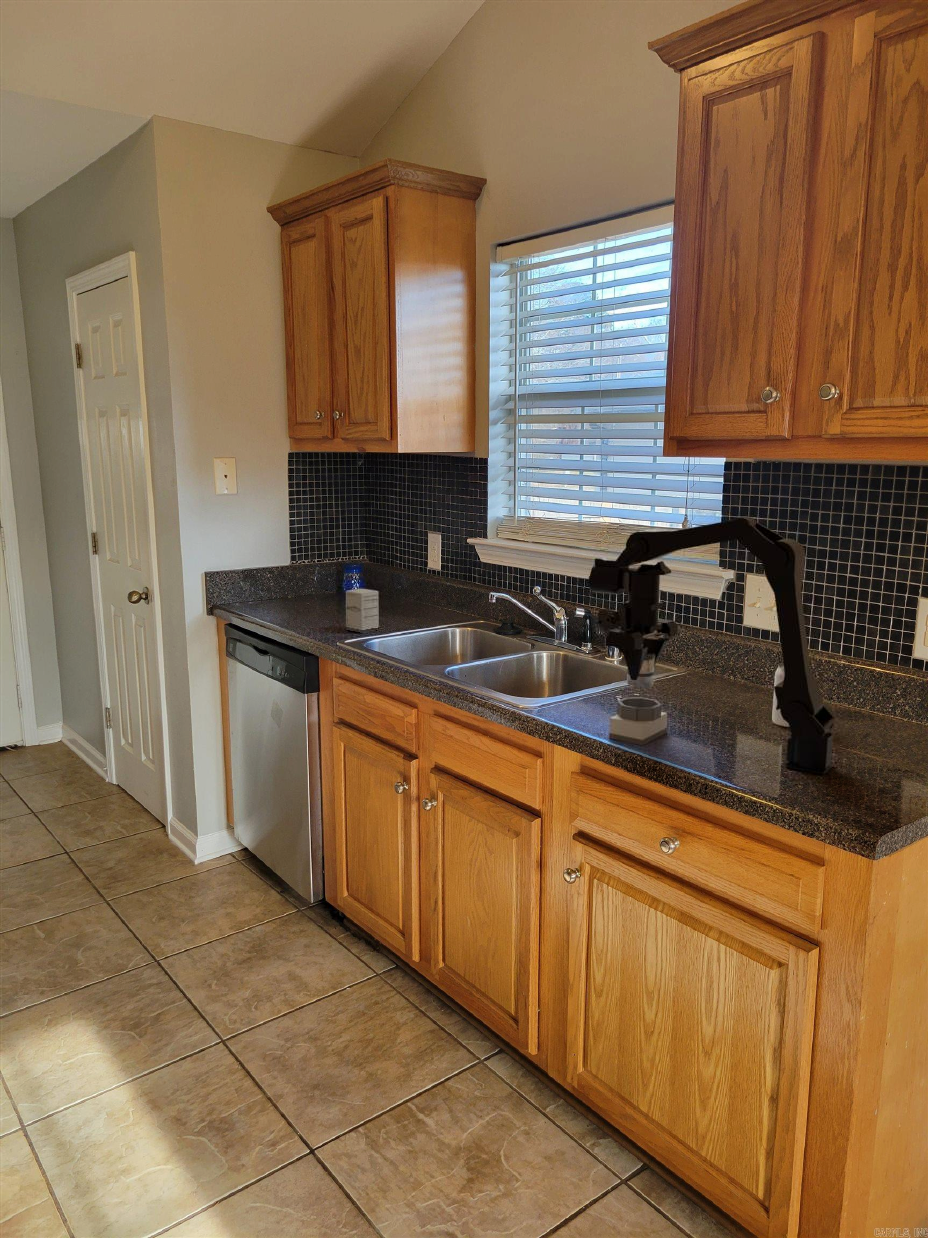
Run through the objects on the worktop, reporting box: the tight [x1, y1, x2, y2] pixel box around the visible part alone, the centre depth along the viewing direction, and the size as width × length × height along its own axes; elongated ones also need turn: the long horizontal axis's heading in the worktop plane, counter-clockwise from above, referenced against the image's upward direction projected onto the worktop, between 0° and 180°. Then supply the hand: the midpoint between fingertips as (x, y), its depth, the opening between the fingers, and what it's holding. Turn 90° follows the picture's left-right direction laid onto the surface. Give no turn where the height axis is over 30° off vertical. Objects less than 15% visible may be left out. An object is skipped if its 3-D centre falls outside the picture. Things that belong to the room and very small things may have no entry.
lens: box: [626, 651, 655, 688], centre depth 175 cm, size 5×5×6 cm
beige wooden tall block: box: [345, 588, 380, 630], centre depth 279 cm, size 7×7×13 cm
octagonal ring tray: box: [608, 696, 668, 746], centre depth 176 cm, size 8×10×6 cm
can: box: [771, 662, 790, 729], centre depth 184 cm, size 6×6×12 cm
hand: (640, 677), depth 175 cm, fingers closed on lens, 5 cm apart
